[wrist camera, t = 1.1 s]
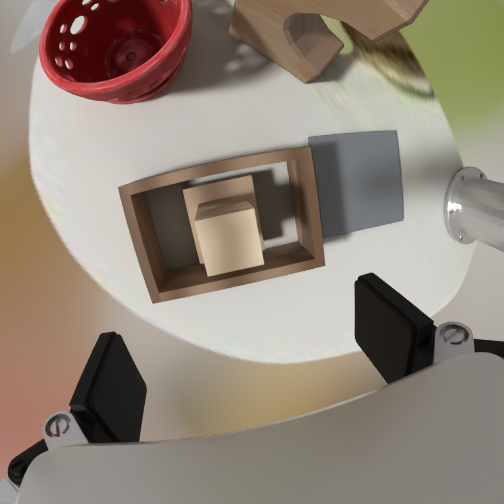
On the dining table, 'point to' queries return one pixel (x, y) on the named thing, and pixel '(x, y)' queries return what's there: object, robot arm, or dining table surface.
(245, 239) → the maple block
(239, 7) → the decorative block
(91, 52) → the plant pot
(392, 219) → the mat
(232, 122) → the dining table surface
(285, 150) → the walnut box
